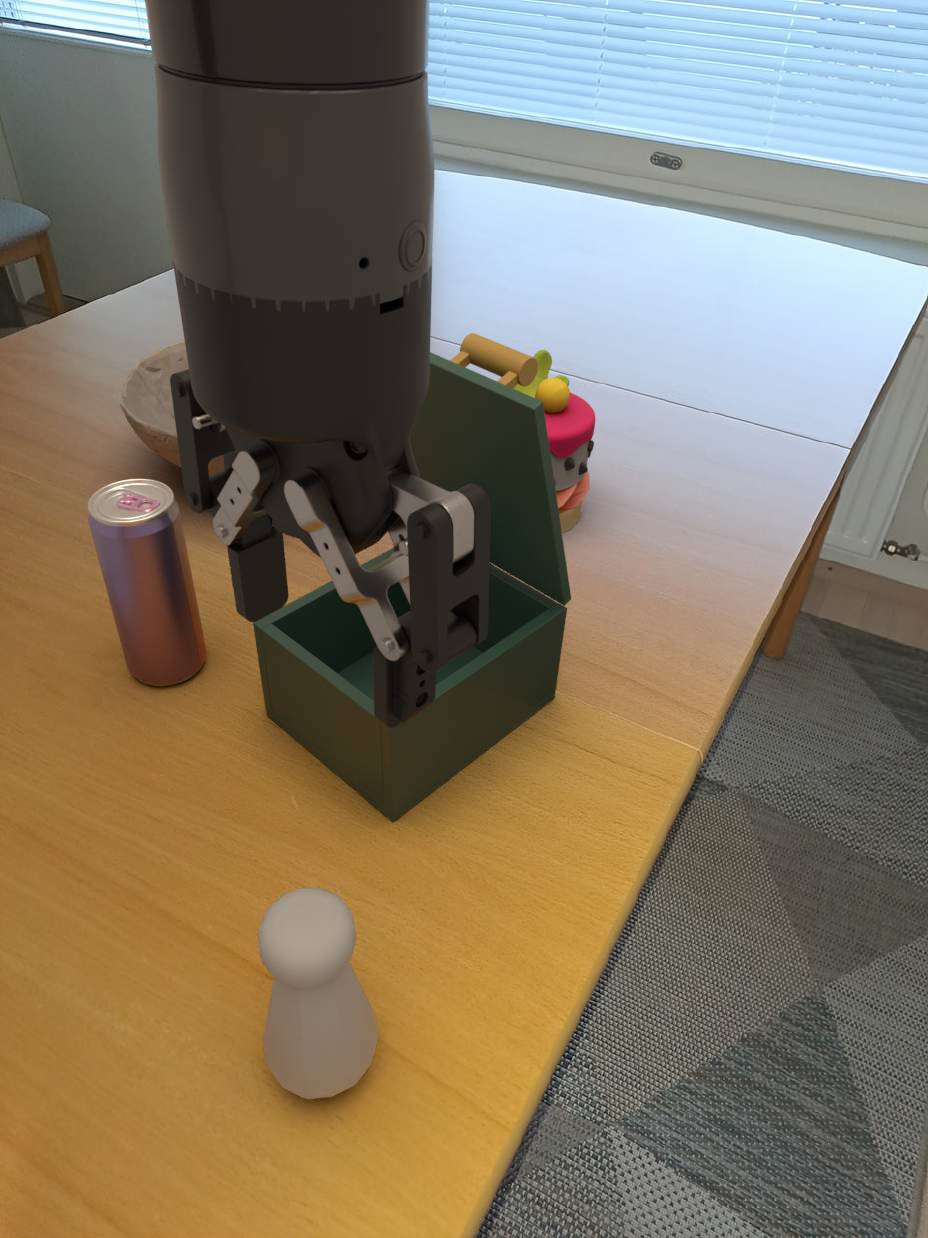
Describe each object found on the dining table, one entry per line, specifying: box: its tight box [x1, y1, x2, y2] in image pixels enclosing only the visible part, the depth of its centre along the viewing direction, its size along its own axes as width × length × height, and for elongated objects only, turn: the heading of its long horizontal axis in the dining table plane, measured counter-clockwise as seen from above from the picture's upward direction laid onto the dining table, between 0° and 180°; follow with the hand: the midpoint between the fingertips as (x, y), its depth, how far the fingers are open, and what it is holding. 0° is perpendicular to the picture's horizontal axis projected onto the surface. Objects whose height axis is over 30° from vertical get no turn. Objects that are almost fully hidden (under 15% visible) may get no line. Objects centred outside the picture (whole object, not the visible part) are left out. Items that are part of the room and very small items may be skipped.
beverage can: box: [87, 478, 207, 687], centre depth 66 cm, size 6×6×15 cm
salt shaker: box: [257, 887, 380, 1100], centre depth 44 cm, size 6×6×13 cm
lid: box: [410, 332, 572, 607], centre depth 61 cm, size 18×14×5 cm
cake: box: [513, 349, 596, 534], centre depth 85 cm, size 10×11×15 cm
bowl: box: [118, 339, 225, 476], centre depth 92 cm, size 26×26×10 cm
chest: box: [252, 547, 568, 823], centre depth 66 cm, size 17×14×9 cm
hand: (329, 659), depth 37 cm, fingers open, 8 cm apart
